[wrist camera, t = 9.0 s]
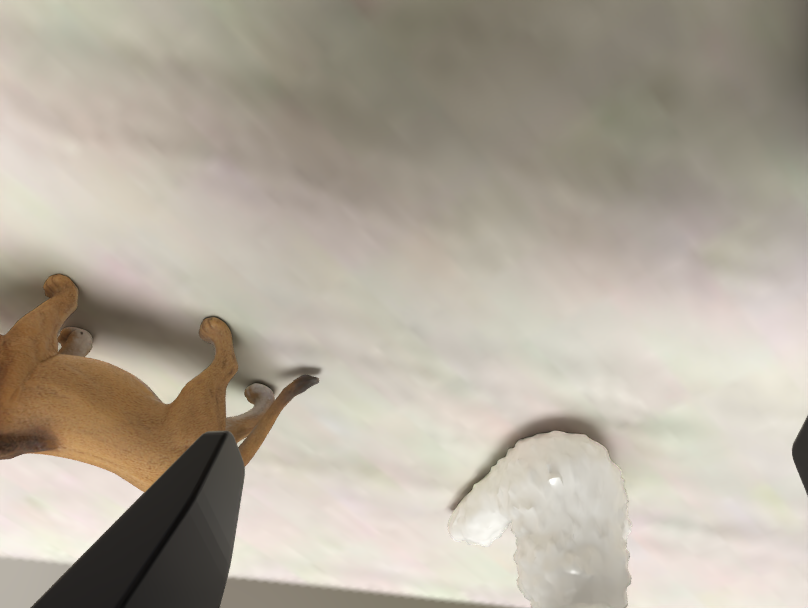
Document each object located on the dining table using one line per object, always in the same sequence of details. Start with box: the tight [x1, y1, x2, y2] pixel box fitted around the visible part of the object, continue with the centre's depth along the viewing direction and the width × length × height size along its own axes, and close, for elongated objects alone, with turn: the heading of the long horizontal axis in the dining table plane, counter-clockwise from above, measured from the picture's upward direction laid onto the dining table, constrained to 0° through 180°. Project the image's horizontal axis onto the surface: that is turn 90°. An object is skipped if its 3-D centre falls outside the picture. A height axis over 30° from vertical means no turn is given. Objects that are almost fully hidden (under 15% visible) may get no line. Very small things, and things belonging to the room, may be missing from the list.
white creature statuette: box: [448, 431, 632, 608], centre depth 23 cm, size 10×9×12 cm
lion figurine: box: [0, 274, 319, 492], centre depth 20 cm, size 15×5×9 cm, turn 77°
